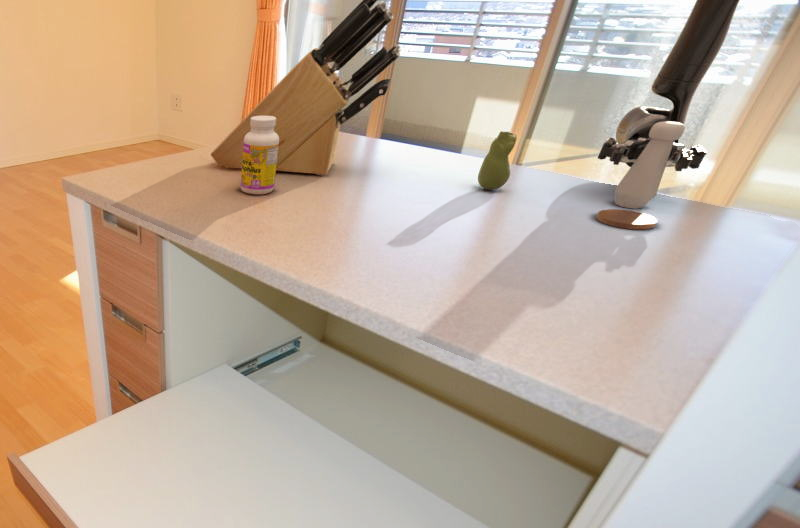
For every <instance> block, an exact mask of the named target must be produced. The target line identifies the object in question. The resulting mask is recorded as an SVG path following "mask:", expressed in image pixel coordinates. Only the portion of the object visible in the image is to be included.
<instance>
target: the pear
mask: <svg viewBox="0 0 800 528" xmlns="http://www.w3.org/2000/svg"><path fill="white" fill-rule="evenodd" d="M516 143H517V134H514V133H512V132H510V131H503V130H501V131H500V132H499V133H498V135H497V137H495V139H493V141H492V142H491V144H490V147H489V150H488V153H486V155H485V157H484V159H483V162H482V163H481V166H480V169H479V171H478V175H477V183H478V185H479V186H480V187H481V188H483V189H484V190H489V191H494V190H498V189H500V188H502V187H503V186H504V185H505V184H506V183H507V182H508V181H509V179H510V176H511V168H510V160H509V155H510V154H511V152H512V151H513V149H514V148H515V146H516Z"/></svg>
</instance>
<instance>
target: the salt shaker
mask: <svg viewBox="0 0 800 528" xmlns="http://www.w3.org/2000/svg"><path fill="white" fill-rule="evenodd" d="M685 129H686V126H685V123H684V124H682V123H679V122H672V121H663V122H658V123H656V124H654V125H653V127H652V128H651V130H650V132H649V137H650V138H652V139H651V140H650V142H649V143H648V144H647V146H646V147H645V149H644V150H643V152H642V153H641V154H640V156H639V157H638V158H637V160H636V161H635V163H634V164H633V165H632V167H629V168H628V170H627V172H626V174H624V176H623V177H622V179H621V180H620V181H619V183H618V184H617V186H616V187H615V191H614V204H615V205H616V206H619V207H622V208H627V209H636V210H637V209H642V208H644V207H645V206H646V205H648V203H649V202H650V201H651V200H653V199H654V198H655V196H657V193H658V191H659V187H660V185H661V181H662V180H663V179H662V178H663V175H664V172H665V169H666V168H667V167H666V164H667V161H668V158H669V155H670V152H671V149H672V146H673V143H674V140H678V139H679V140H680V139H681V138H682V136H683V135H684V133H685ZM679 140H678V141H679Z"/></svg>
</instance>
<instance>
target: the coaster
mask: <svg viewBox="0 0 800 528" xmlns="http://www.w3.org/2000/svg"><path fill="white" fill-rule="evenodd" d="M595 219H596V220H597V221H598V222H600V223H602V224H604V225H607V226H611V227H614V228H620V229H626V230H638V231H639V230H640V231H641V230H650V229H654V228H655V227H656V225H657V223H658V219H657V218H656V217H654V216H652V215H651V214H648V213H644V212H639V211H634V210H629V209H617V208H611V209H610V208H609V209H602V210H599V211H597V214H596V216H595Z"/></svg>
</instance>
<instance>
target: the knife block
mask: <svg viewBox="0 0 800 528" xmlns="http://www.w3.org/2000/svg"><path fill="white" fill-rule="evenodd" d="M377 1H378V0H362V1H361V2H359V4H358V5H357V6H356V7H355V8H354V9H353V10H352V11H351V12H350V13H349V14H348V15H347V16H346V17H345V18H344V19H343V20H342V21H341V22H340V23H339V24H338V25H337V26H336V27H335V28H334V29H333V30H332V31H331V32H330V33H329V35H327V36H326V37H325V38H324V40H323V41H322V43H320V45H319V46H318V47H315V48H313V49H311V50H310V51H309V52H308V53H307V54H306V55H304V57H302V58H301V60H299V62H298V63H297V64H295V66H294V67H293V68H292V69H291V70H290V71H289V72H288V73H286V75H285V76H283V78H282V79H281V80H280V81H279V82H278V83H277V84H276V85H275V86H274V87H273V88H272V89H271V90H270V91H269V92H268V94H266V95H265V96H264V98H263V99H262V100H261V101H260V102H259V103H258V104H256V105H255V107H254V108H252V109H251V111H250V112H249V113H248V114H247V115H246V116H245V117H244V118H243V119H242V120H241V121H240V122H239V123H238V125H236V127H235V128H234V129H233V130H232V131H231V132H229V134H228V135H227V136H226V137H225V138H224V139H223V140H222V141H221V142H220V143H219V144H218V145H217V146H216V147H215V149H214V150H213V151H211V153H210V156H211V157H212V158H213V160H214V161H215V163H216V164H217V165H218V166H219V167H224V168H225V169H232V168H235V169H242V158H243V144H244V137H245V135H246V134H247V133H249V132H250V131H251V125H250V120H251V117H254V116H273V117H276V125H275V127H274V132H275V133H277V134H278V136H279V147H278V155H277V165H276V172H290V173H302V174H313V175H314V174H315V175H316V176H324V175H327V174H328V172H329V170H330V168H331V167H332V165H333V162H334V159H335V153H336V150H337V143H338V139H339V133H340V130H341V129H340V127H341V126H342V125H343V124H344V123H346V122H347V121H349V120H350V119H352V118H353V117H354V116H357V114H359V113H360V112H361V111H363V110H364V109H365V108H367V107H368V106H369V105H370V104H371V103H373V102H374V101H375V100H376V99H378V98H379V97H382V96H385V95H386V93H387V91H388V88H389V85H390V83H391V78H385V79H381V80H379V81H378V82H376V83H375V84H373V85H372V86H370V87H369V88H368V89H366V90H365V91H364V92H363V93H362V94H361V95H359V96H358V97H357V98H356V99H355V100H353V101H352V102H351V103H350V104H349V105H348V106H347V107H346V108H344V107H345V106H346V105H347V103H348V102H349V100H350V98H351V97H353V96H354V95H356V94H357V93H359V92H360V91H361V90H363V89H364V88H365V87H366V86H367V85H368V84H369V83H370V82H371V81H373V80H374V79H375V78H376V77H377V76H379V75H380V74H381V73H382V72H383V71H384V70H386V68H388V67H389V66H390V65H391V64H393V62H395V61H396V60H397V59H398V58H399V57H400V56H401V51H402V49H401V46H400V45H398V44H395V45H393V47H391V48H390V49H389V50H388V48H387V47H386V46H383V47H381V48H380V49H379V50H378V51H377V52H376V53H375V54H374V55H373V56H371V58H370V59H368V60H367V61H366V62H365V63H364V64H362V66H361V67H359V69H357V70H356V71H354V73H352V75H351V78H350V79H349V80H347V81H344V82H343V81H342V80H341V79H340V77H339V76H338V74H337V73H336V72H337V71H339V70H340V69H342V68H343V67H345V65H346V64H347V63H348V62H349V61H351V60H352V59H353V58H354V57H355V56H356V55H357V54H358V53H359V52H361V51H362V50H363V49H364V48H365V47H366V46H367V45H368V44H369V43H370V42H371V41H372V40H373V39H374V38H375V37H376V36H377V35H378V34H379V33H381V31H382V30H383V28H385V27H386V26H387V25H388V24H389V23H390V22H391V21H392V20H393V19H394V13H393V11H391V10H390V9H388V7H387V4H386V3H385V2H384V1H379V3H377V4H376V2H377ZM375 4H376V6H374V5H375ZM373 6H374V7H373ZM372 7H373V8H372ZM371 8H372V9H371ZM333 62H334V63H333ZM329 63H333V64H332V66H331V65H330V64H329ZM349 84H350V85H349ZM347 85H349V86H348V88H347V87H346V86H347ZM343 108H344V109H343Z"/></svg>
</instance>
